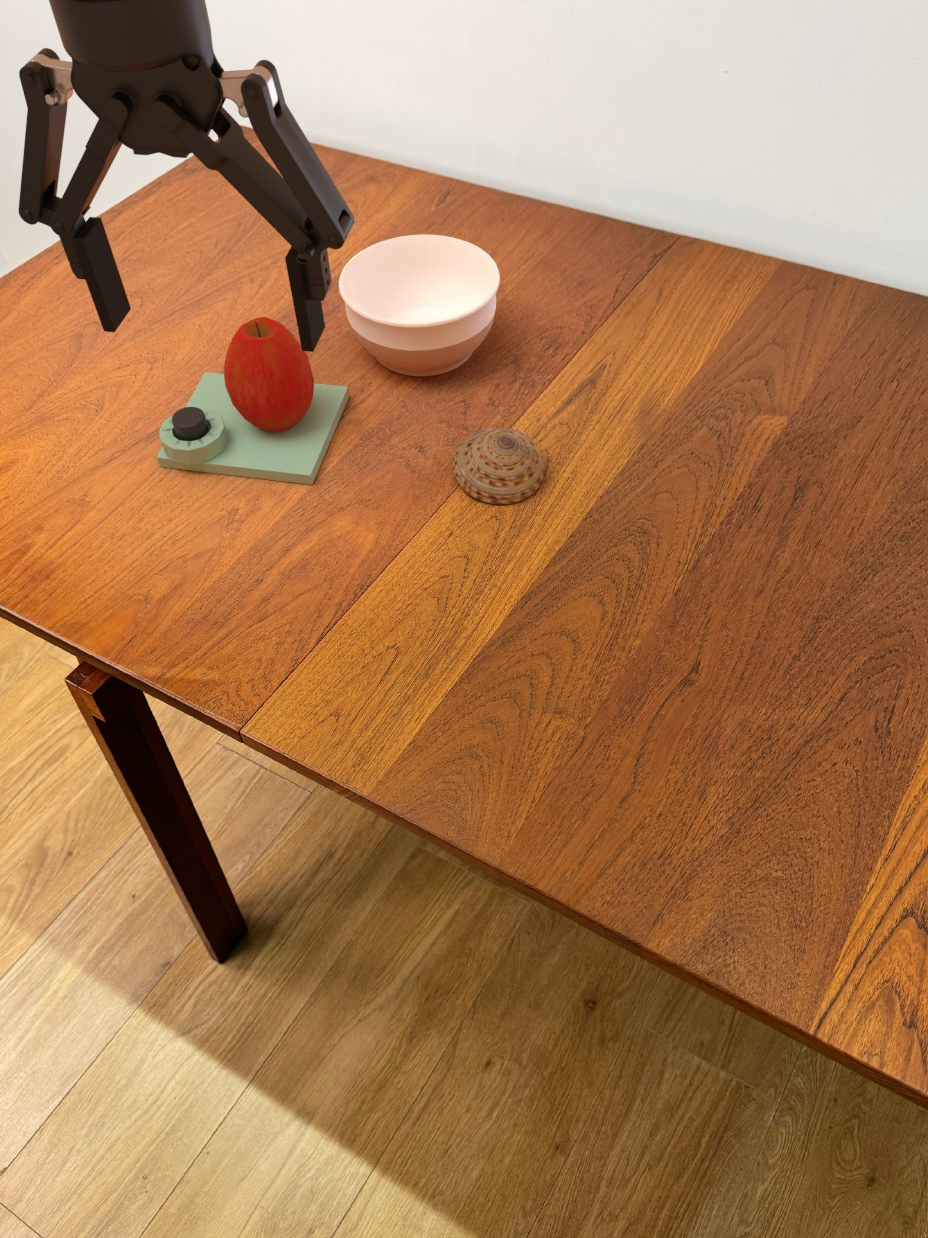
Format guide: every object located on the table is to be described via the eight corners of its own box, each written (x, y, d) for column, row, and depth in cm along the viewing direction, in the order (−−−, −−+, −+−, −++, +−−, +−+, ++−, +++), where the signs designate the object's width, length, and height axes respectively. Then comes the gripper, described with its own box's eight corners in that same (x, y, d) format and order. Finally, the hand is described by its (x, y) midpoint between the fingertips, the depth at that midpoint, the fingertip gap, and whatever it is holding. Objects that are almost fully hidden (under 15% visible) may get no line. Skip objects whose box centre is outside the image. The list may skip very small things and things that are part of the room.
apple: (256, 383, 99) (234, 287, 91) (333, 396, 98) (318, 300, 89) (221, 435, 94) (194, 340, 86) (301, 450, 93) (281, 354, 84)
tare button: (171, 440, 92) (166, 425, 91) (183, 419, 94) (178, 404, 93) (202, 443, 92) (197, 429, 90) (213, 422, 94) (209, 407, 92)
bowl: (505, 302, 109) (505, 235, 103) (493, 395, 99) (493, 327, 93) (361, 297, 110) (352, 231, 104) (335, 389, 100) (324, 321, 94)
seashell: (520, 410, 94) (551, 432, 87) (527, 466, 97) (558, 492, 90) (437, 430, 92) (462, 454, 86) (447, 486, 95) (472, 515, 88)
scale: (157, 470, 94) (149, 445, 91) (207, 381, 102) (201, 356, 99) (310, 488, 91) (306, 463, 89) (349, 396, 100) (345, 371, 97)
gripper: (-154, -24, 48) (13, 345, 65) (342, -1, 45) (384, 383, 61) (-73, -76, 53) (63, 281, 69) (382, -60, 49) (412, 312, 66)
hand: (214, 329), depth 65 cm, fingers open, 13 cm apart
